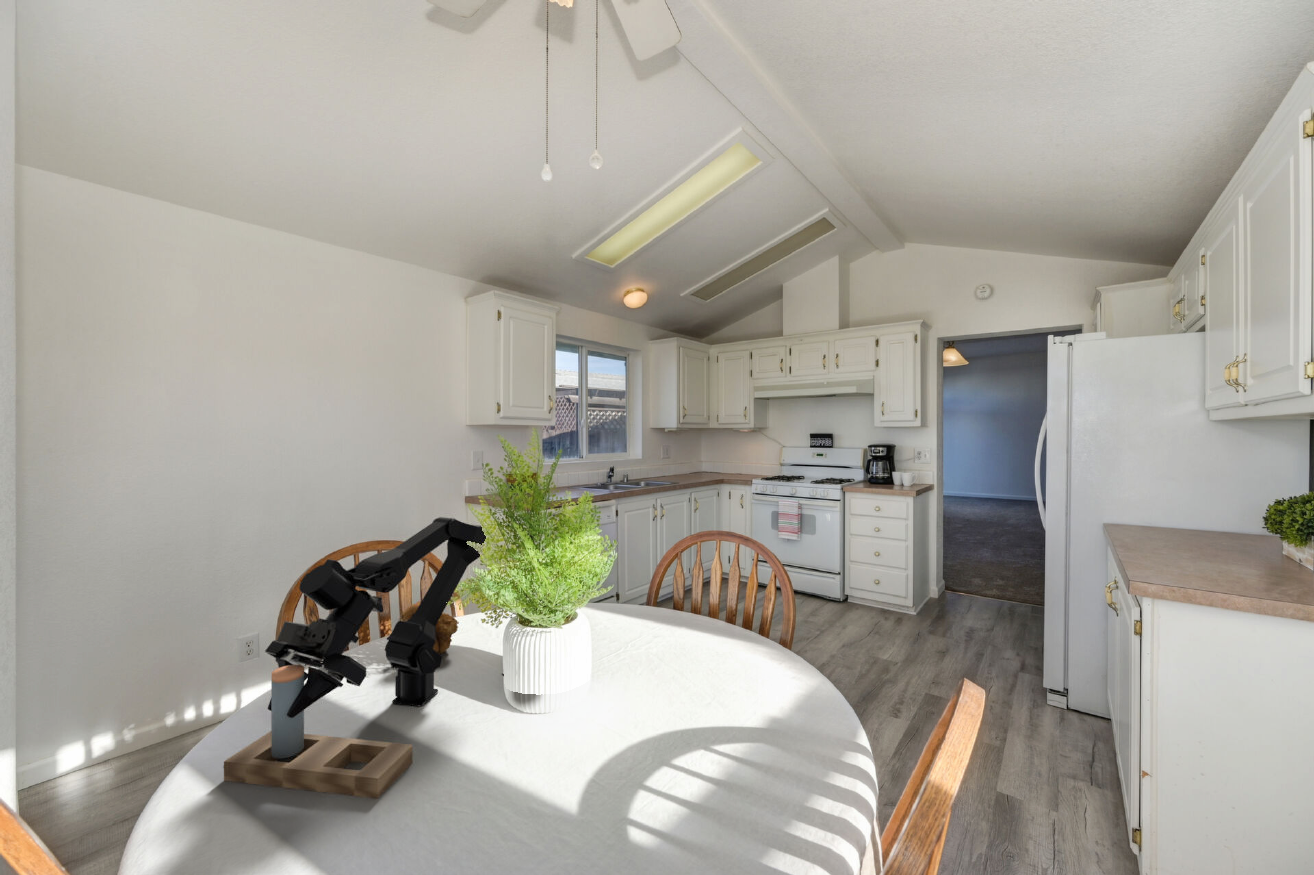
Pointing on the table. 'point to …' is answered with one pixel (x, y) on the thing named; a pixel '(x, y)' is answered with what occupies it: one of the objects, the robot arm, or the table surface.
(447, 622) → the stuffed squirrel
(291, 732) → the peg
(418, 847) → the table surface
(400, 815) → the table surface
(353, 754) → the wooden peg holder
